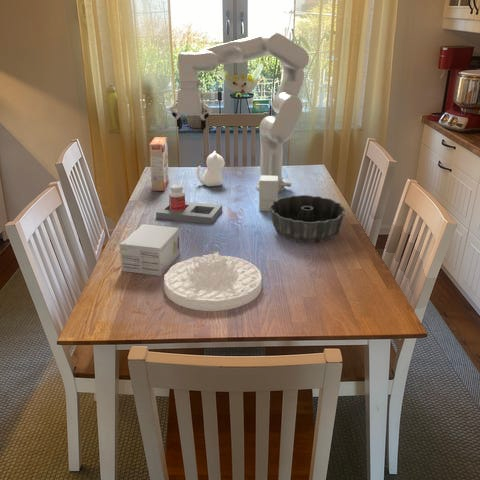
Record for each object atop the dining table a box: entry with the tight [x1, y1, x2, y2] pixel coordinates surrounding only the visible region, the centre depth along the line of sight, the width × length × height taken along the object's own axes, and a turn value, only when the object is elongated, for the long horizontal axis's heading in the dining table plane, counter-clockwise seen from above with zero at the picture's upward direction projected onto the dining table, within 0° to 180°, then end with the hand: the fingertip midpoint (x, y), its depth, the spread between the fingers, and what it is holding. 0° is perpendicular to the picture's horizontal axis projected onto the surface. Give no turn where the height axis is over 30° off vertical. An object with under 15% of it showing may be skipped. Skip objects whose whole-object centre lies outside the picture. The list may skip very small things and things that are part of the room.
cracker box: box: [149, 136, 170, 192], centre depth 231 cm, size 14×6×21 cm, turn 179°
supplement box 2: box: [258, 175, 279, 212], centre depth 208 cm, size 7×7×13 cm
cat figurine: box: [196, 150, 226, 187], centre depth 235 cm, size 9×12×15 cm
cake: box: [163, 251, 263, 312], centre depth 150 cm, size 28×28×10 cm
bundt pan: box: [270, 194, 346, 244], centre depth 185 cm, size 26×26×10 cm
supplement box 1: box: [119, 223, 181, 277], centre depth 164 cm, size 17×13×9 cm
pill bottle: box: [168, 184, 186, 212], centre depth 203 cm, size 6×6×11 cm
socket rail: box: [155, 200, 223, 225], centre depth 203 cm, size 22×14×2 cm, turn 76°
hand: (191, 129), depth 213 cm, fingers open, 9 cm apart
